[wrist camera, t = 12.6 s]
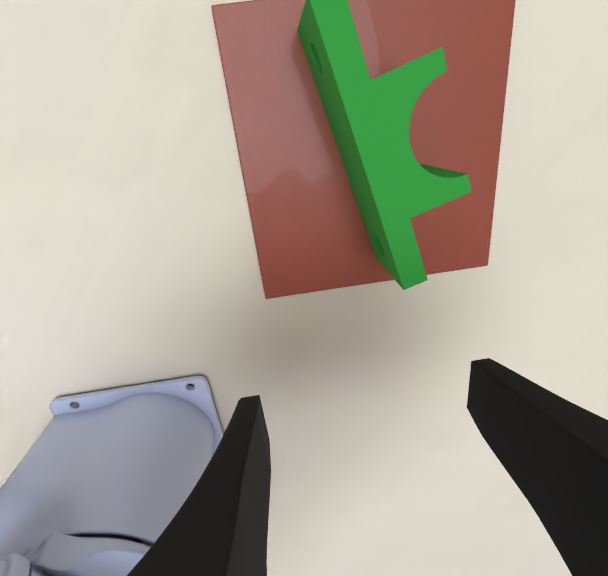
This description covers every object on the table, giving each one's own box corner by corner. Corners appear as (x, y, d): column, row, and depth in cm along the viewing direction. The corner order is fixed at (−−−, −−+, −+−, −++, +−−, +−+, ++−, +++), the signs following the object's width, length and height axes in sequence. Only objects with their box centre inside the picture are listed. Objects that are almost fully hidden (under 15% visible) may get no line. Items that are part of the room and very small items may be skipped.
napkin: (265, 296, 20) (265, 299, 20) (212, 7, 15) (211, 5, 14) (485, 263, 21) (488, 265, 20) (514, -29, 15) (519, -32, 15)
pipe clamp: (438, 229, 19) (485, 257, 15) (374, 256, 20) (403, 291, 16) (378, -11, 15) (422, -66, 11) (295, 29, 15) (307, -9, 11)
